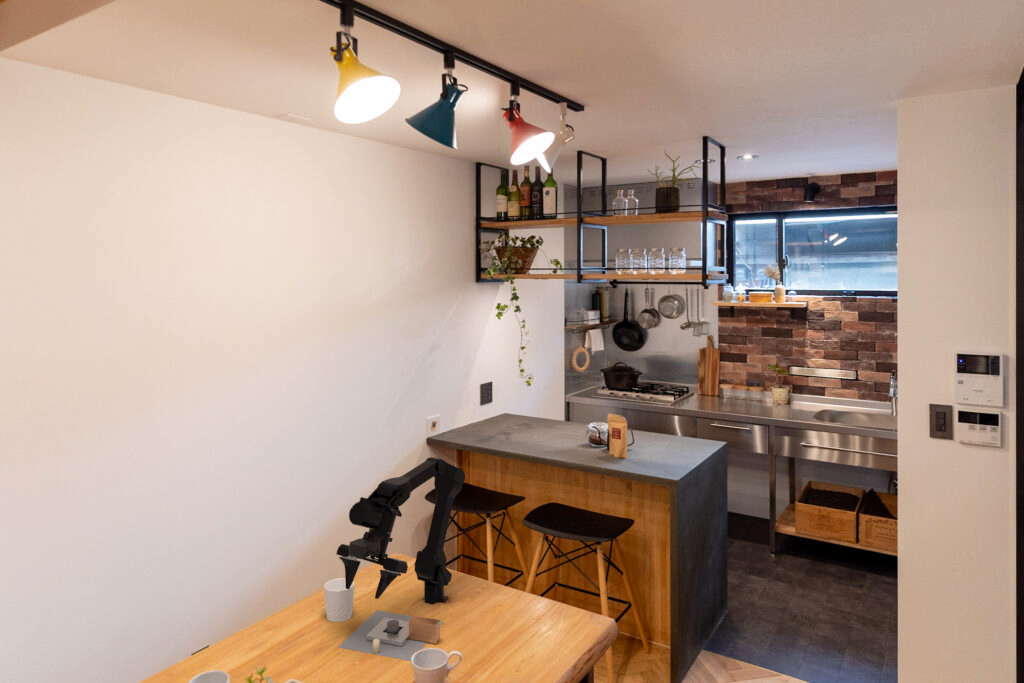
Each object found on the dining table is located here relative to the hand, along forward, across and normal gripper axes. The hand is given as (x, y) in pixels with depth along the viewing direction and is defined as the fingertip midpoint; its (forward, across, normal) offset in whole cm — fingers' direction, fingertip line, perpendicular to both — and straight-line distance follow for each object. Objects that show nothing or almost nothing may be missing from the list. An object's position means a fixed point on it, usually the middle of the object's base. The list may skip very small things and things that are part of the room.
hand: (361, 593), depth 170 cm
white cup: (+10, -13, +13) cm, 21 cm away
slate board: (+9, +5, +12) cm, 16 cm away
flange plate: (+8, +9, +12) cm, 17 cm away
